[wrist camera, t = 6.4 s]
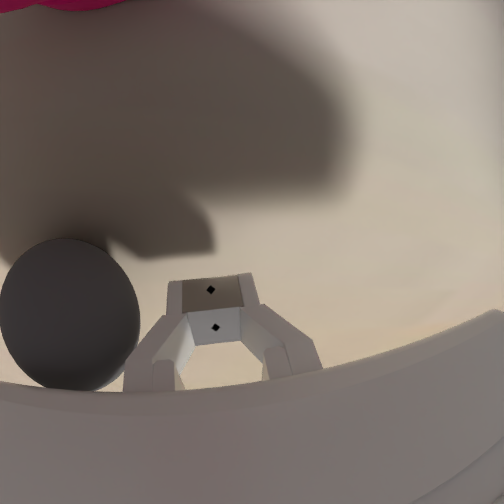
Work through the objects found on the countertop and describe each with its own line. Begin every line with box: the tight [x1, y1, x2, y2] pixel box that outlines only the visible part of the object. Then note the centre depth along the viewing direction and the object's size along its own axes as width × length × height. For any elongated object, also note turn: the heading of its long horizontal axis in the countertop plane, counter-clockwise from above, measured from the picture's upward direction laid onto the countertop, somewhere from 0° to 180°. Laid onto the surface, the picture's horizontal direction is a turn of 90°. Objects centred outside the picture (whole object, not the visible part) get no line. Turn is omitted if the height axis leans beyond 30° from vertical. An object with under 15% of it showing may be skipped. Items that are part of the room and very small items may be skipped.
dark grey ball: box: [0, 239, 140, 391], centre depth 8 cm, size 6×6×6 cm
